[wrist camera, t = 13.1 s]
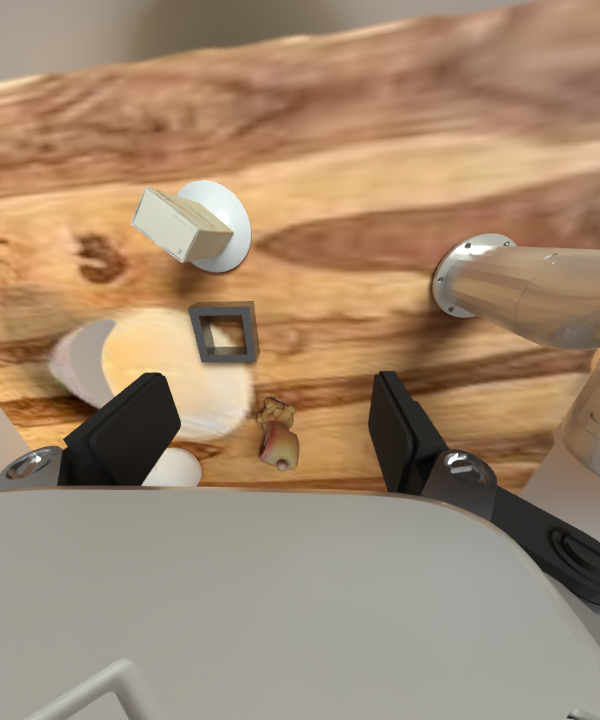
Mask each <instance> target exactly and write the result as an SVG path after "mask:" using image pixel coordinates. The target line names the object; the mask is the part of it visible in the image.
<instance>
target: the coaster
mask: <svg viewBox="0 0 600 720" xmlns="http://www.w3.org/2000/svg"><path fill="white" fill-rule="evenodd" d="M176 196H178V197H182V198H185V199H188V200H192V201H195V202H198V203H200V204H201V205H203V206H204V207H205V208H206V209H207V210H209V211H210V212H211V213H212V214H213V215H215V216H216V217H217V218H218V219H219V220H220V221H222V222H223V223H224V224H225V225H226V226H227V227H228V228H230V229H231V230H232V231H233V232H234V234H233V236H232V238H231V239H230V241H229V243H228V245H227V246H226V248H225V250H224V251H223V253H222V254H221V256H217V257H211V258H206V259H200V260H195V261H190V262H191V263H192V264H194V265H195V266H197V267H199V268H201V269H203V270H206V271H210V272H224V271H228V270H230V269H233V268H235V267H236V266H238V265H239V264H240V263H241V262H242V261H243V260H244V258H245V257H246V255H247V253H248V251H249V249H250V245H251V240H252V229H251V223H250V219H249V216H248V213H247V211H246V209H245V207H244V205H243V204H242V203H241V201H240V200H239V199H238V198H237V196H236V195H235V194H234V193H232V192H231V191H230V190H228V189H227V188H226V187H224V186H222V185H220V184H218V183H215V182H212V181H204V180H201V181H195V182H192V183H189V184H188V185H186V186H184V187H183V188H182V189H181V190H180V191H179V192H178V193H177V195H176Z"/></svg>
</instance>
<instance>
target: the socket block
mask: <svg viewBox="0 0 600 720" xmlns="http://www.w3.org/2000/svg"><path fill="white" fill-rule="evenodd" d="M188 309H189V313H190V317H191V321H192V325H193V329H194V333H195V337H196V341H197V345H198V349H199V353H200V357H201V361H202V362H256V361H257V358H258V356H259V354H260V351H259V342H258V334H257V325H256V317H255V308H254V301H242V302H197V303H196V304H194V305H192V306H190V307H189V308H188ZM219 315H242V320H243V327H244V334H245V341H246V347H215V346H214V342H213V337H212V332H211V327H210V323H209V318H208V316H219Z"/></svg>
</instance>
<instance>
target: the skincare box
mask: <svg viewBox="0 0 600 720" xmlns="http://www.w3.org/2000/svg"><path fill="white" fill-rule="evenodd" d="M131 224H132V226H134V227H135V228H136V229H137V230H139V231H140V232H141V233H143V234H144V235H145V236H147V237H148V238H149V239H150V240H152V241H153V242H154V243H156V244H157V245H158V246H160V247H161V248H162V249H164V250H165V251H166V252H168V253H169V254H171V255H172V256H173V257H175V258H176V259H178V260H179V261H180V262H182V263H184V262H189V261H195V260H200V259H206V258H211V257H217V256H221V254H222V253H223V251H224V250H225V248H226V246H227V245H228V243H229V241H230V239H231V238H232V236H233V234H234V232H233V231H232V230H231V229H230V228H228V227H227V226H226V225H225V224H224V223H223V222H222V221H220V220H219V219H218V218H217V217H216V216H215V215H213V214H212V213H211V212H210V211H209V210H207V209H206V208H205V207H204V206H203V205H201V204H200V203H198V202H195V201H192V200H188V199H185V198H182V197H178V196H175V195H172V194H168V193H165V192H161V191H158V190H155V189H152V188H148V187H146V188H145V190H144V192H143V195H142V197H141V199H140V202H139V204H138V207H137V209H136V211H135V214H134V217H133V219H132V222H131Z"/></svg>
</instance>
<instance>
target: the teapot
mask: <svg viewBox="0 0 600 720" xmlns="http://www.w3.org/2000/svg"><path fill="white" fill-rule="evenodd" d="M201 477H202V468H201V465H200V463H199V461H198V460H197V458H196V457H195V456H194V455H193V454H192V453H191V452H189V451H187V450H185V449H182V448H177V447H170V448H166V450H165V451H164V453H163V454H162V456H161V457H160V459H159V460H158V462H157V463H156V465H155V466H154V467H153V469H152V470H151V472H150V473H149V475H148V476H147V478H146V479H145V481H144V482H143V484H142V485H141V486H185V487H196V486H197V485H198V483H199V482H200V480H201Z"/></svg>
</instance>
